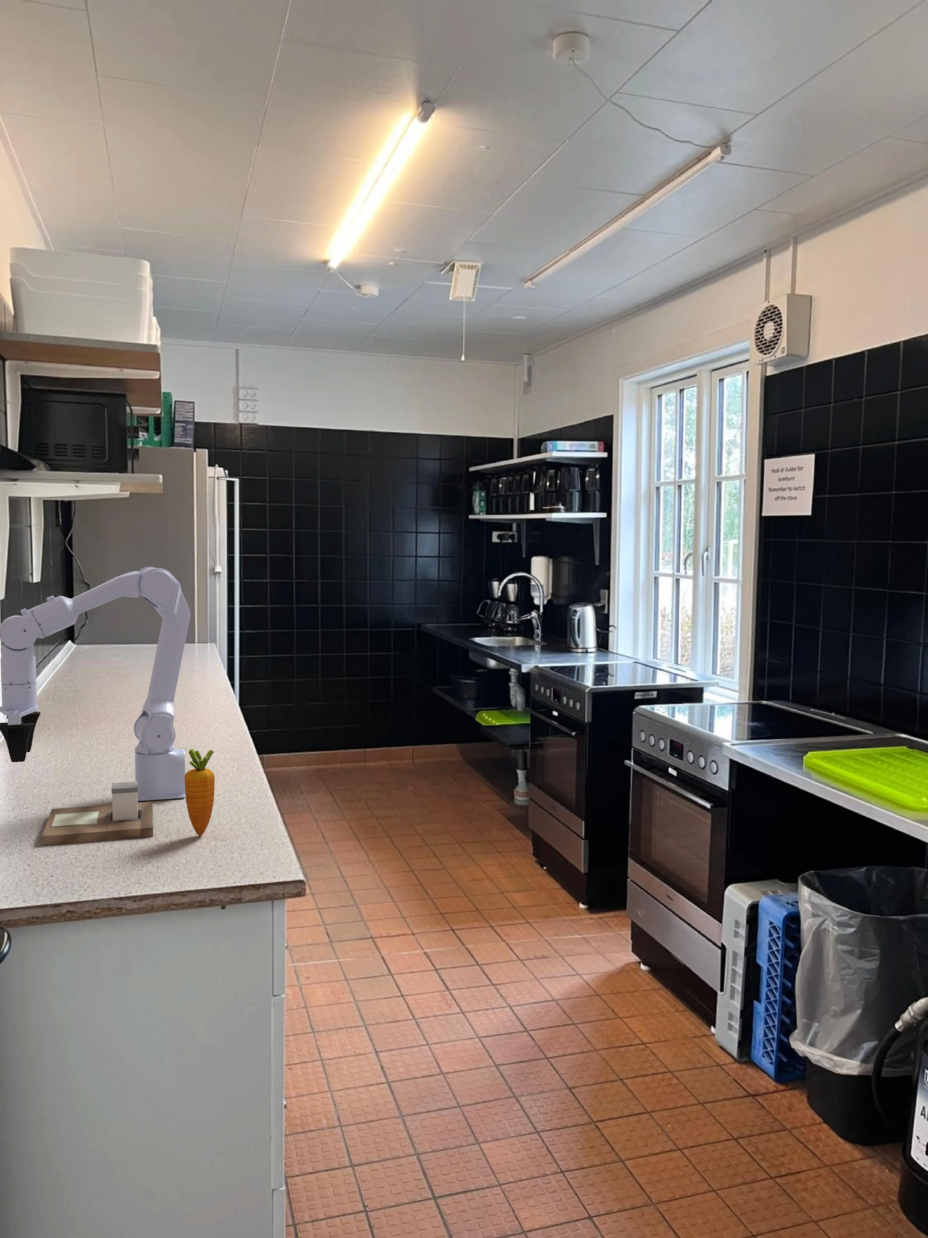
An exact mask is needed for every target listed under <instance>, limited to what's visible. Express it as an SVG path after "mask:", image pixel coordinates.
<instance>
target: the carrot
mask: <svg viewBox="0 0 928 1238" xmlns="http://www.w3.org/2000/svg"><path fill="white" fill-rule="evenodd" d="M188 754H189V756H190V759H191V760H192V761H191V760H190V761H189V765H191V766H192V767H193V768H192V769H190V770H188V771H185V796H186V797H185V803H186V808H187V813H188V818H189V821H190V823H191V826H192V827H193V829H194V832H195V833H196V834H197V836H198V837H201V836H203V834H205V833H206V830H207V828H208V826H209V823H210V821H211V818H212V812H213V807H214V802H215V785H216V784H215V781H216V779H215V773H214V772H213V771H212V770H211V769H210V768H208V767H207V768H206V766H207V765H208V763H209V761H210V759H211V758H212V756H213V754H214V750H212V749H209V750H208V752H207V753H206V754H205V756H204V757H202V755H201V752H200V751H199V750H195V749H194V748H190V749H189V750H188Z"/></svg>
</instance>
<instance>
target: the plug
mask: <svg viewBox="0 0 928 1238" xmlns="http://www.w3.org/2000/svg"><path fill="white" fill-rule="evenodd" d="M137 792H138V781H137V782H135V781H125V782H112V784H111V797H112V798H111V799H112V802H111V805H113V821H116V820H129V819H138V803H139V801H138V793H137Z"/></svg>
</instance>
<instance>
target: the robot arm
mask: <svg viewBox="0 0 928 1238" xmlns="http://www.w3.org/2000/svg"><path fill="white" fill-rule="evenodd" d="M140 597H141V598H142V599H143V600H145V601H147V602H148V603H149V604H151V605H152V607H153V608H154V609H155V610H156V612H157V613H158V615H159V616H160V617H161V619H162V620H161V624H160V625H161V626H160V630H159V636H158V640H157V646H156V651H155V655H154V661H153V665H152V671H151V677H150V682H149V685H148V686H149V687H148V692H147V698H146V700H144V704H143V706H142V710H141V713H140V715H139V716H138V717H137V718H136V720H135V722H134V724H133V733H134V735H135V737H136V738H137V739H138V741H139V742H138V743H137V746H135V748H134V770H135V771H134V776H135V780H134V782H137V781H138V792H137V793H138V802H144V801H145V802H146V801H157V800H158V801H159V800H172V799H174V800H175V799H186V796H185V774H186V754H185V753H186V751H185V749H183V748H175V745H174V743H175V739H176V730H175V726H174V719H175V718H174V717H175V708H174V707H175V706H174V701H175V696H176V695H175V694H176V691H177V686H178V681H179V675H180V670H181V666H182V660H183V655H184V652H185V651H184V650H185V646H186V641H187V635H188V634H187V633H188V630H189V625H190V619H191V611H190V607H189V605H188V604H187V601H186V598H185V596H184V593H183V591H182V587H181V583H180V582H179V581H178V580H177V578H175V577H174V576H173V574H172V573H171V572H170V571H168V570H167V569H166V568H165V569H164V568H161V567H155V566H144V567H142V568H140V569H139V570H134V571H130V572H127V573H124V574H121V575H118V576H116V577H113V578H112V579H109V580H107V581H104V582H103V583H101V584H100V585H97V586H95V587H93V588H91V589H88V590H87V591H85V592H82V593H80V594H79V595H76V596H74V597H72V598H69V597H66V596H63V595H58V596H57V597H55V596H54V595H51V596H47V597H46V598H45V600H46V601H45V602H42V603H40V604H38V605H35V606H34V607H31V608H29V609H27V608H23V609H21V610H20V613H21V615H10V616H8V617H6V618H5V619H4V620H3V621H2V622H1V624H0V640H1V642H2V643H1V647H0V654H1V657H0V682H1V687H0V688H1V706H0V713H1V714H3V715H4V716H6V720H7V721H6V722H0V733H1V734H2V736H3V738H4V741H5V743H6V747H7V751H8V755H9V759H10V761H11V763H21V762H23V763H24V762H25V761H26V757H27V753H31V750H32V746H33V741H34V733H35V730H36V725H37V724H38V723H37V722H38V720H39V718H40V716H41V711H39V705H38V696H37V694H38V693H37V692H38V691H37V668H36V667H37V665H36V662H37V659H36V656H35V650H34V649H35V648H34V647H35V645H34V643H35V642H36V640H37V639H41V640H42V639H45V638H47V637H50V636H51V635H54V634H55V633H58V632H60V631H63V630H64V629H67V628H69V627H71V626H74V625H75V624H76V622H77V620H78V618H79V615H80V614H83V613H85V612H87V611H91V610H93V609H95V608H97V607H99V606H102V605H105V604H107V603H109V602H112V601H114V600H116V599H120V598H131V599H132V598H134V599H136V598H137V599H139V598H140Z"/></svg>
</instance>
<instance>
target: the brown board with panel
mask: <svg viewBox="0 0 928 1238" xmlns="http://www.w3.org/2000/svg"><path fill="white" fill-rule="evenodd" d="M153 803H154V802H153V801H145V802H144V801H142V802H138V819H129V820H116V821H113V805H112V804H105V805H103V804H102V805H88V806H87V805H86V806H74V807H62V808H61V807H60V808H51V810H50V814H49V816H48V819H47V822H46V824H45V827H44V830H43V832H42V834H41V835H42V836H41V842H42V843H41V845H42V846H49V845H61V844H73V843H75V844H76V843H86V842H98V841H99V842H100V841H109V840H110V841H111V840H122V839H135V838H147V837H153V836H154V817H153V816H154V809H153V808H154V807H153V805H154V804H153Z"/></svg>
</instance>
